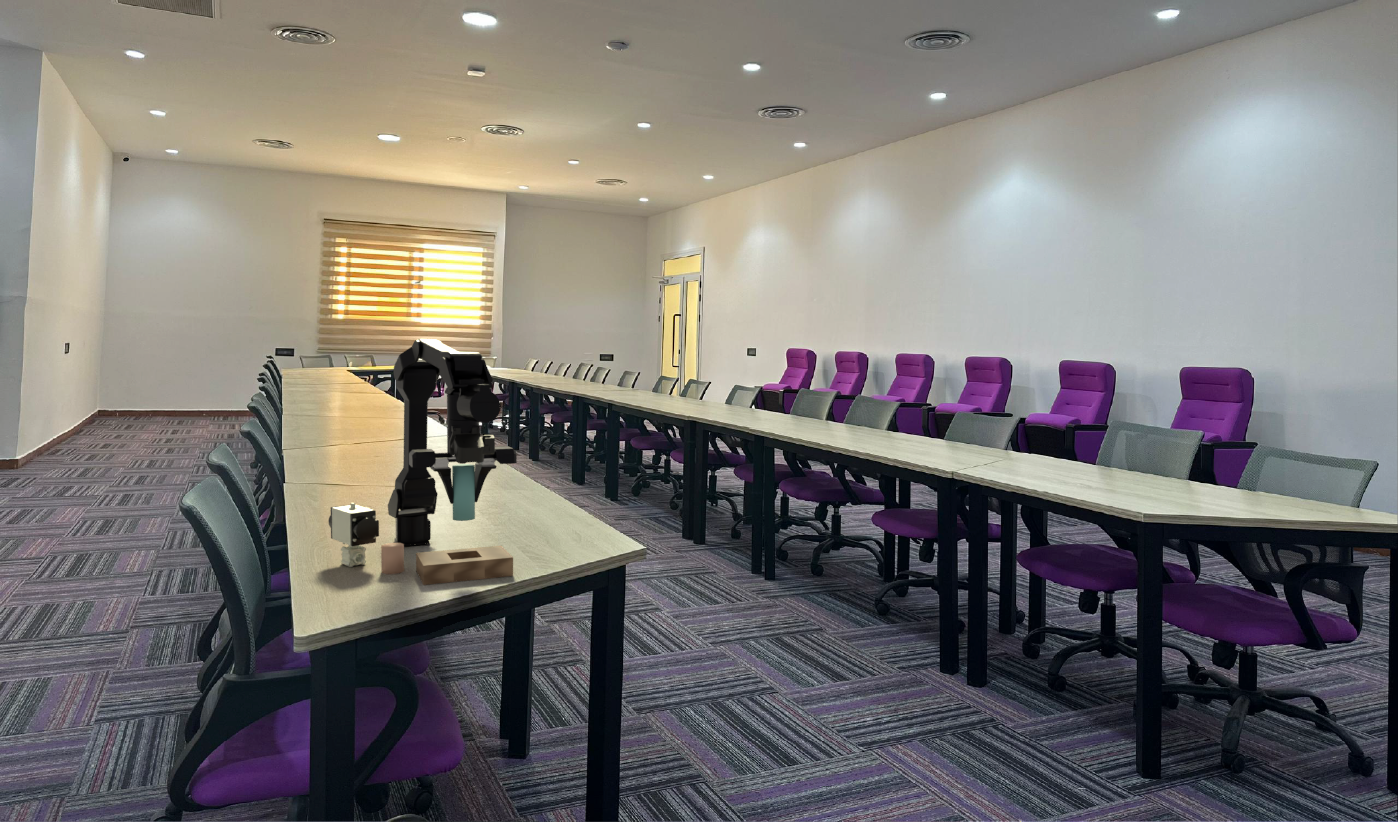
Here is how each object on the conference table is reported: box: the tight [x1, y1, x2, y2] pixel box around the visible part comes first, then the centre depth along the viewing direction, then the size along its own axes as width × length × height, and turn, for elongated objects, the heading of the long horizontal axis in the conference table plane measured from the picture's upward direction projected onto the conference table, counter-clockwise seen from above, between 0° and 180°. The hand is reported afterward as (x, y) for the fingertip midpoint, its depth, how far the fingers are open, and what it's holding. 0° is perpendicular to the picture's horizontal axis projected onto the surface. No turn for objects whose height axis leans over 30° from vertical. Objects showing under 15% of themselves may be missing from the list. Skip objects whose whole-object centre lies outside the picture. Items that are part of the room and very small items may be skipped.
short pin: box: [380, 542, 405, 575], centre depth 155 cm, size 4×4×5 cm
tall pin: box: [451, 463, 476, 522], centre depth 153 cm, size 4×4×10 cm
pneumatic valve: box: [328, 502, 380, 568], centre depth 159 cm, size 6×12×12 cm, turn 48°
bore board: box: [415, 545, 514, 586], centre depth 154 cm, size 16×10×4 cm, turn 116°
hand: (463, 502), depth 153 cm, fingers closed on tall pin, 4 cm apart
